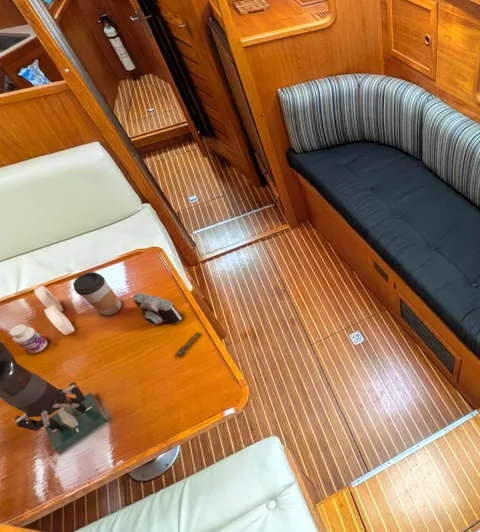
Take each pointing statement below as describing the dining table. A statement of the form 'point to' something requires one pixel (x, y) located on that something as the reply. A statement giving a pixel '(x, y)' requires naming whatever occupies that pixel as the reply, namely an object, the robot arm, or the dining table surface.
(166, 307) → the camera
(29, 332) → the pill bottle
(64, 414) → the tap handle
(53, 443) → the green switch panel
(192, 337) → the can opener
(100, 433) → the dining table surface
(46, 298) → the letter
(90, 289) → the coffee cup
